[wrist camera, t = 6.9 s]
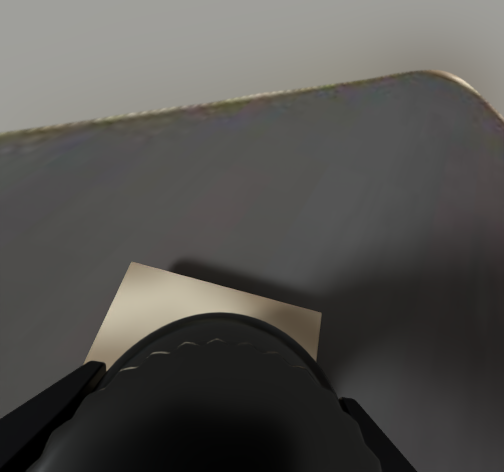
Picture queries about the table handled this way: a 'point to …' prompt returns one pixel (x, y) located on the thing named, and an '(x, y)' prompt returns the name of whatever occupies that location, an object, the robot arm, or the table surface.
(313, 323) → the small stand
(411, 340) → the table surface
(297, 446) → the supplement bottle
